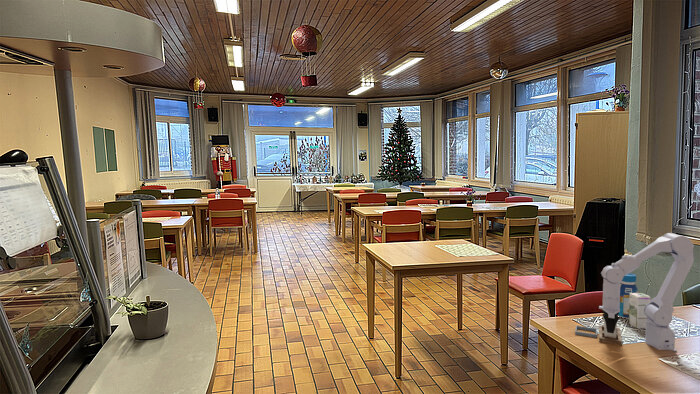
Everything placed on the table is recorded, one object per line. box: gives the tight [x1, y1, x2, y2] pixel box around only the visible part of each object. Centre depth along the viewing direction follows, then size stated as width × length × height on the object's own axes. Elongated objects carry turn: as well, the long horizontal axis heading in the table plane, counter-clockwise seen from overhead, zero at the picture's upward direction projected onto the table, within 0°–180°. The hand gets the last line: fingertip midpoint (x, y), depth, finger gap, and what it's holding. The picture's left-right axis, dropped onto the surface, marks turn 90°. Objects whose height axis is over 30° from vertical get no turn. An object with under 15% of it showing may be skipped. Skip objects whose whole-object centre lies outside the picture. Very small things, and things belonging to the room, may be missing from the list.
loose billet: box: [603, 322, 618, 338], centre depth 170 cm, size 4×4×6 cm
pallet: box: [598, 324, 623, 346], centre depth 174 cm, size 16×8×2 cm, turn 150°
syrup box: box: [628, 292, 651, 329], centre depth 186 cm, size 6×6×14 cm
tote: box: [574, 325, 598, 339], centre depth 178 cm, size 8×8×2 cm
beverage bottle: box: [618, 272, 639, 320], centre depth 199 cm, size 8×8×20 cm
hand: (610, 330), depth 170 cm, fingers closed on loose billet, 4 cm apart
